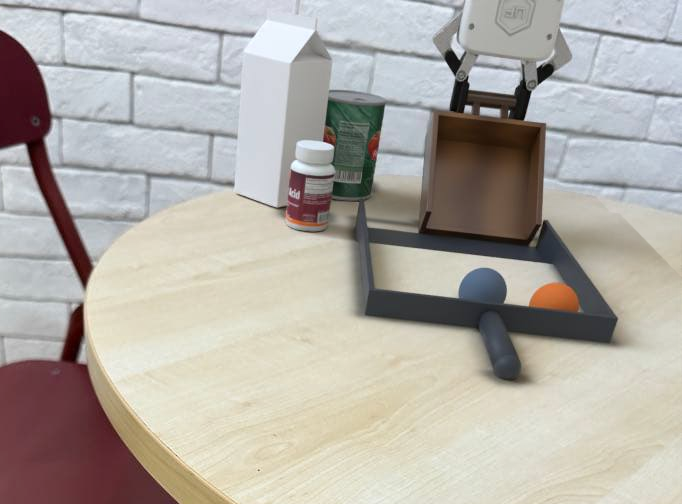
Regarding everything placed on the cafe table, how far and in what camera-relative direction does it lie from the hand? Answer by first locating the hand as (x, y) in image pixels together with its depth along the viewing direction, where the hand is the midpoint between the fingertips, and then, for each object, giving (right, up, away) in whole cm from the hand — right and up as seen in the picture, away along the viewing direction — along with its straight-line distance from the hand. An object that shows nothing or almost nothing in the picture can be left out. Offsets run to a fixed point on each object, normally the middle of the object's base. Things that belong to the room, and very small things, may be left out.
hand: (484, 121), depth 96 cm
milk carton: (-24, -7, +6) cm, 26 cm away
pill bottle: (-20, -13, -2) cm, 24 cm away
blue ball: (-5, -26, -21) cm, 34 cm away
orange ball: (0, -27, -23) cm, 36 cm away
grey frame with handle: (-5, -25, -17) cm, 31 cm away
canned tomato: (-16, -4, +11) cm, 19 cm away
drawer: (-1, -6, +1) cm, 6 cm away
